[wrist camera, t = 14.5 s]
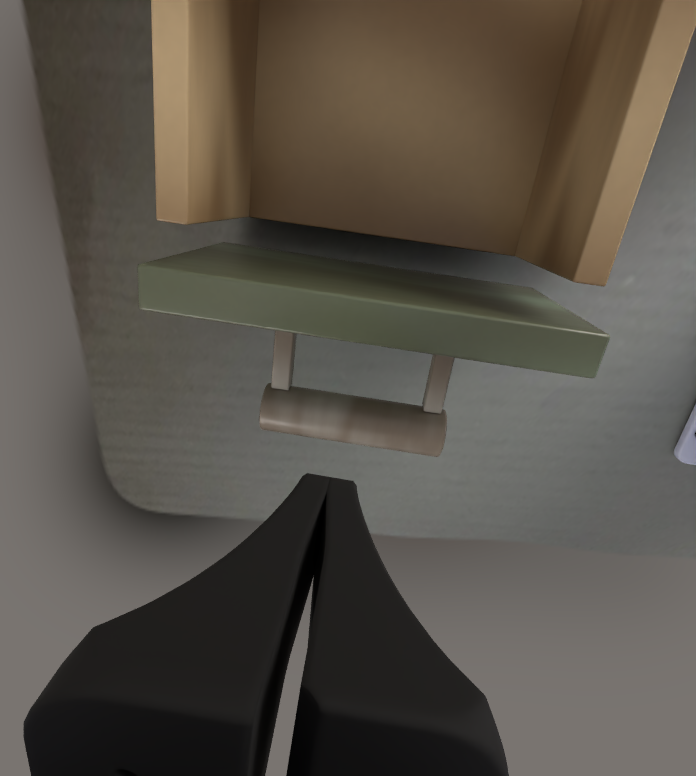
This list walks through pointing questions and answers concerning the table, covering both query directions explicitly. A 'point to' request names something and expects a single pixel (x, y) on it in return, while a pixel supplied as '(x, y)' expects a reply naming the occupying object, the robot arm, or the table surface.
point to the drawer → (404, 176)
